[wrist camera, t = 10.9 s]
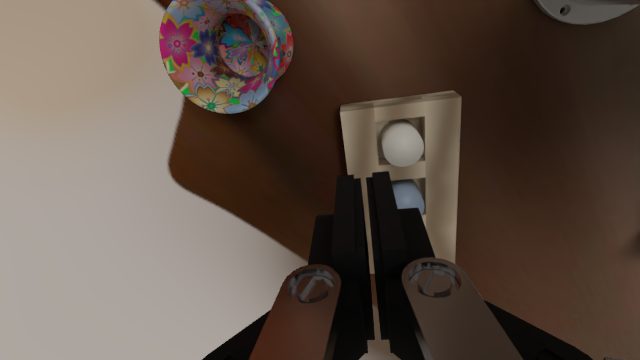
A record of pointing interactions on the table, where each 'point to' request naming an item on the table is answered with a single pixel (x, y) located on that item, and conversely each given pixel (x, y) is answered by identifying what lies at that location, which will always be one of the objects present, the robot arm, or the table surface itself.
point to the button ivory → (401, 143)
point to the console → (428, 172)
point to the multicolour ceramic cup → (225, 51)
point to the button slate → (407, 194)
